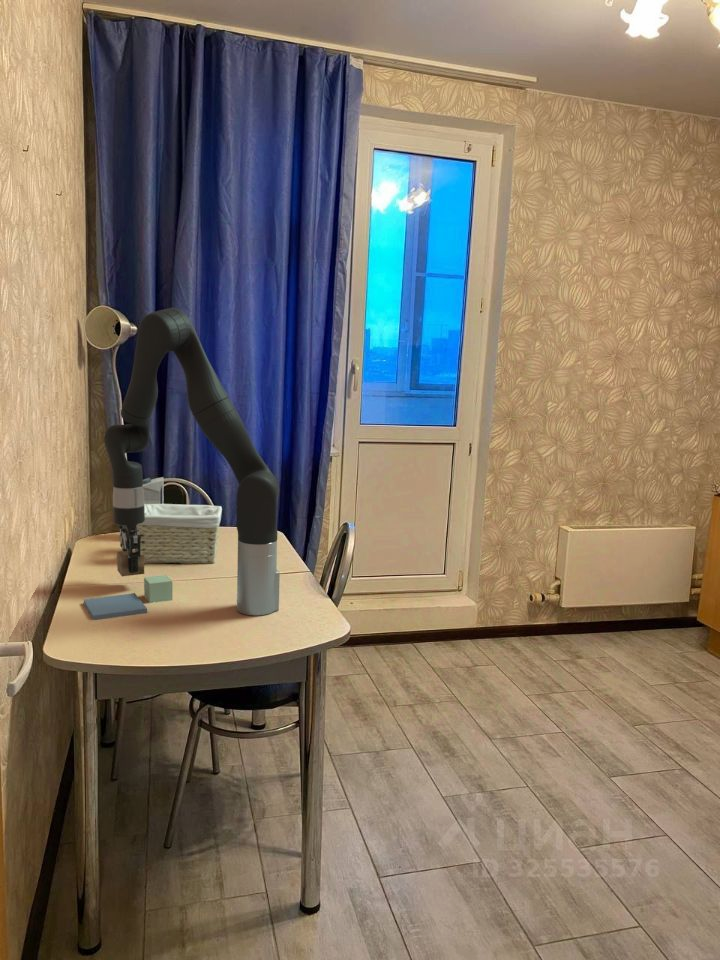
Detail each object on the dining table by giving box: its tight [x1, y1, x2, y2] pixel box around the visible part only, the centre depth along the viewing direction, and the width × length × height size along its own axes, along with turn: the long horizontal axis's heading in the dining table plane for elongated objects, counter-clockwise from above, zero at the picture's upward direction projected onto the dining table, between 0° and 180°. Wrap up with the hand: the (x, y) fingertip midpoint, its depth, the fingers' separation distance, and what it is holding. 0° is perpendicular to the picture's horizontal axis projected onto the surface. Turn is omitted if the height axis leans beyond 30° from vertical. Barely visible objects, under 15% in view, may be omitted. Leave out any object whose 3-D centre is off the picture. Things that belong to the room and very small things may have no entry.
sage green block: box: [143, 574, 173, 604], centre depth 182 cm, size 6×6×5 cm
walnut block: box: [116, 549, 145, 577], centre depth 188 cm, size 6×6×5 cm
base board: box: [83, 592, 148, 621], centre depth 174 cm, size 12×12×1 cm
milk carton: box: [143, 476, 165, 504], centre depth 235 cm, size 7×7×20 cm
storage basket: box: [136, 503, 223, 565], centre depth 217 cm, size 24×16×15 cm
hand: (130, 568), depth 188 cm, fingers closed on walnut block, 5 cm apart
